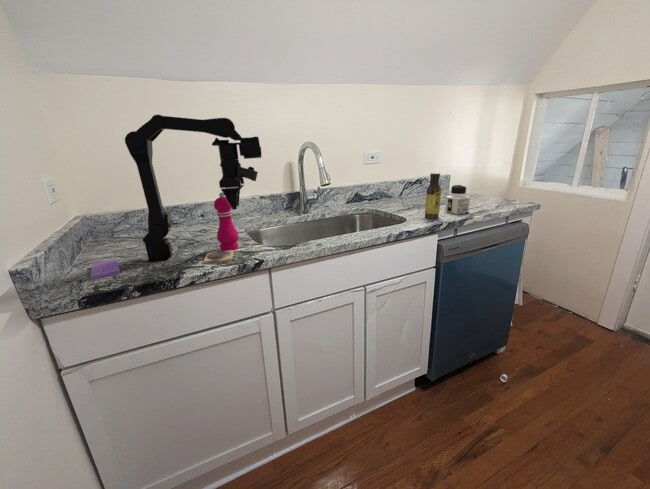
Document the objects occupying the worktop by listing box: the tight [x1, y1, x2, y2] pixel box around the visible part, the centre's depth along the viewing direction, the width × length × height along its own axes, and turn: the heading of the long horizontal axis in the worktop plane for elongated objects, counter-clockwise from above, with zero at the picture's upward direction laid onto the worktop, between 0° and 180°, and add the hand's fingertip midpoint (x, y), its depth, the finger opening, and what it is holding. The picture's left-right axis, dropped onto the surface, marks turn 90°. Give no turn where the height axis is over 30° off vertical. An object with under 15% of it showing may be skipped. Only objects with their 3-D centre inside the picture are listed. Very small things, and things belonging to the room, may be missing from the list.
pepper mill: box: [213, 192, 239, 251], centre depth 107 cm, size 7×7×20 cm
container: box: [444, 184, 471, 215], centre depth 148 cm, size 8×8×13 cm
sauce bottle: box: [424, 172, 442, 219], centre depth 139 cm, size 6×6×20 cm
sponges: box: [90, 258, 121, 281], centre depth 95 cm, size 7×13×2 cm, turn 36°
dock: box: [203, 250, 235, 264], centre depth 101 cm, size 8×8×1 cm
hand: (236, 207), depth 104 cm, fingers open, 9 cm apart
